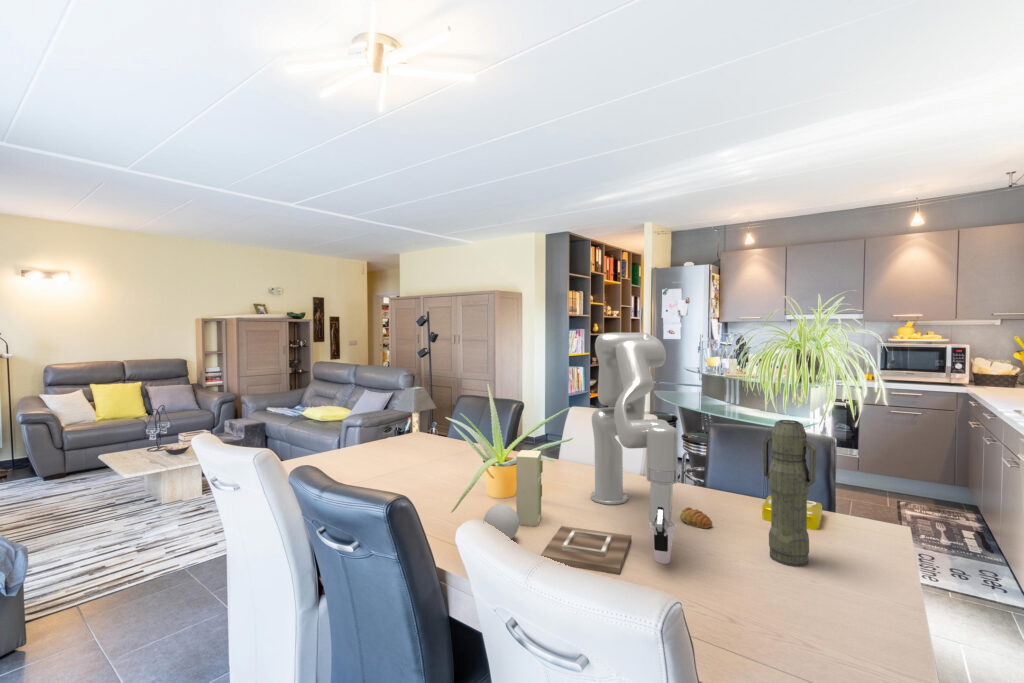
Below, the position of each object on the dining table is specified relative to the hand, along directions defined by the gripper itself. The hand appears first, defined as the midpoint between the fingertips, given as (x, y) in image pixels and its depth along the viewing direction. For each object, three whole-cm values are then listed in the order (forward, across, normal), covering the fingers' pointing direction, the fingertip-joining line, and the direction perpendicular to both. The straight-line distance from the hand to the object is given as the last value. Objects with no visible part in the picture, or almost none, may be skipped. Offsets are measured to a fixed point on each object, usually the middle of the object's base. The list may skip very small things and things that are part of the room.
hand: (662, 543), depth 125 cm
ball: (+5, +3, -43) cm, 43 cm away
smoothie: (+4, 0, 0) cm, 4 cm away
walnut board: (+4, +1, -19) cm, 19 cm away
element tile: (+5, -43, +35) cm, 56 cm away
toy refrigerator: (+4, -13, -40) cm, 42 cm away
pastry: (+5, -29, +8) cm, 30 cm away
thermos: (+4, -12, +30) cm, 33 cm away
